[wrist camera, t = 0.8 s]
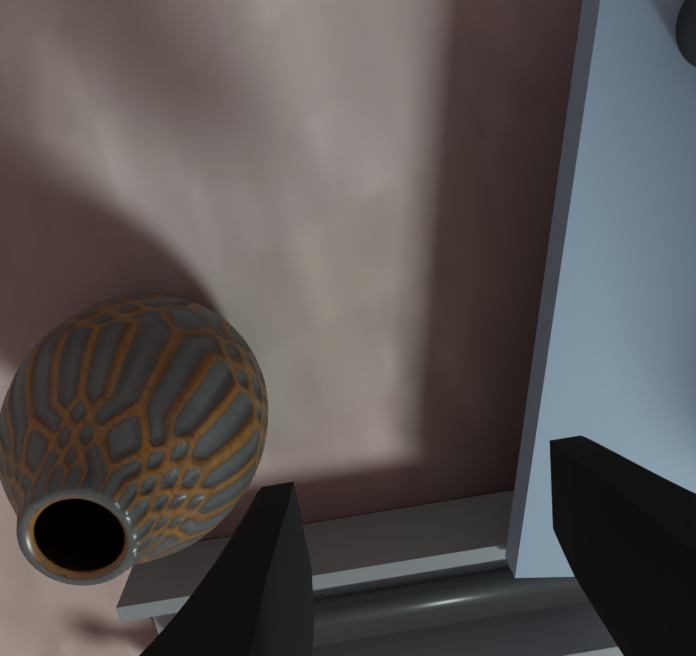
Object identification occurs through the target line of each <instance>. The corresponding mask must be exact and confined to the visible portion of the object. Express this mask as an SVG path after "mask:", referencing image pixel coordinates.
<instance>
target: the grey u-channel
mask: <svg viewBox="0 0 696 656" xmlns="http://www.w3.org/2000/svg"><path fill="white" fill-rule="evenodd" d="M513 496H514V490H511V491H505V492H499V493H492V494H486V495H480V496H474V497H468V498H462V499H455V500H449V501H443V502H437V503H431V504H425V505H419V506H412V507H406V508H400V509H394V510H388V511H382V512H375V513H369V514H363V515H357V516H351V517H345V518H339V519H332V520H326V521H320V522H314V523H308V524H303V529H304V534H305V539H306V544H307V549H308V553H309V558H310V563H311V568H312V585H313V604H314V633H313V650H312V656H623V654H622V652H621V651H620V649H619V648H618V646H617V644H616V643H615V641H614V640H613V638H612V636H611V635H610V633H609V632H608V630H607V628H606V627H605V625H604V624H603V622H602V620H601V619H600V617H599V616H598V614H597V612H596V611H595V609H594V607H593V606H592V604H591V603H590V601H589V599H588V598H587V596H586V594H585V593H584V591H583V590H582V588H581V586H580V585H579V583H578V581H577V580H576V578H575V577H538V578H515V577H514V575H513V573H512V571H511V568H510V566H509V564H508V562H507V560H506V557H505V553H506V546H507V539H508V532H509V525H510V517H511V510H512V503H513ZM231 537H232V536H228V537H222V538H216V539H209V540H203V541H197V542H195V543H193V544H192V545H190V546H188V547H186V548H184V549H182V550H180V551H178V552H176V553H174V554H171V555H169V556H166V557H163V558H160V559H156V560H153V561H149V562H144V563H140V564H135V565H133V567H132V570H131V572H130V575H129V577H128V580H127V582H126V585H125V587H124V590H123V592H122V595H121V597H120V600H119V602H118V605H117V607H116V609H117V612H118V615H119V617H120V620H121V622H123V621H129V620H135V619H141V618H147V617H153V619H154V622H155V625H156V628H157V632H158V635H159V634H160V633H161V632H162V630H163V629H164V628H165V627H166V626H167V625H168V623H169V622H170V621H171V620H172V619H173V617H174V616H175V615H176V614H177V613H178V611H179V610H180V609H181V608H182V606H183V605H184V604H185V603H186V601H187V600H188V599H189V597H190V596H191V595H192V593H193V592H194V590H195V589H196V588H197V586H198V585H199V584H200V582H201V581H202V580H203V578H204V577H205V575H206V574H207V573H208V571H209V570H210V569H211V567H212V566H213V564H214V563H215V561H216V560H217V558H218V557H219V555H220V554H221V552H222V551H223V549H224V548H225V546H226V544H227V543H228V541H229V540H230V538H231Z"/></svg>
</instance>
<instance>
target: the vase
mask: <svg viewBox="0 0 696 656" xmlns="http://www.w3.org/2000/svg"><path fill="white" fill-rule="evenodd" d="M267 426H268V400H267V391H266V385H265V381H264V378H263V375H262V372H261V369H260V367H259V365H258V362H257V360H256V358H255V356H254V354H253V352H252V350H251V349H250V347H249V346H248V344H247V343H246V341H245V340H244V339H243V337H242V336H241V335H240V334H239V333H238V332H237V331H236V329H235V328H234V327H233V326H231V325H230V324H229V323H228V322H227V321H226V320H225V319H223V318H222V317H221V316H219V315H218V314H216V313H215V312H213V311H212V310H210V309H208V308H206V307H204V306H202V305H200V304H198V303H195V302H193V301H190V300H187V299H183V298H180V297H175V296H170V295H161V294H134V295H127V296H122V297H117V298H112V299H109V300H105V301H102V302H100V303H97V304H95V305H92V306H90V307H88V308H86V309H84V310H82V311H80V312H79V313H77V314H75V315H73V316H72V317H70V318H69V319H67V320H66V321H64V322H63V323H61V324H60V325H58V326H57V327H56V328H55V329H53V330H52V331H51V332H50V333H49V334H48V335H46V336H45V337H44V338H43V339H42V340H41V341H40V342H39V343H38V344H37V345H36V346H35V347H34V348H33V350H32V351H31V352H30V353H29V355H28V356H27V358H26V359H25V360H24V362H23V363H22V365H21V366H20V367H19V369H18V371H17V373H16V374H15V376H14V378H13V380H12V382H11V384H10V387H9V389H8V391H7V394H6V396H5V399H4V402H3V405H2V408H1V412H0V480H1V483H2V486H3V488H4V491H5V493H6V495H7V498H8V500H9V502H10V504H11V506H12V507H13V509H14V511H15V513H16V515H17V539H18V543H19V546H20V549H21V551H22V553H23V554H24V556H25V557H26V559H27V560H28V561H29V563H30V564H31V565H32V566H33V567H34V568H36V569H37V570H38V571H39V572H41V573H42V574H44V575H46V576H47V577H49V578H51V579H54V580H56V581H59V582H62V583H66V584H71V585H95V584H100V583H104V582H107V581H109V580H112V579H114V578H116V577H117V576H119V575H121V574H122V573H123V572H125V571H126V570H128V569H129V568H130V567H131V566H133V565H135V564H140V563H144V562H149V561H153V560H156V559H160V558H163V557H166V556H169V555H171V554H174V553H176V552H178V551H180V550H182V549H184V548H186V547H188V546H190V545H192V544H193V543H195V542H197V541H198V540H200V539H201V538H202V537H204V536H205V535H206V534H208V533H209V532H210V531H211V530H213V529H214V528H215V527H216V526H217V525H218V524H219V523H220V522H221V521H222V520H223V519H224V518H225V517H226V516H227V515H228V514H229V513H230V511H231V510H232V509H233V508H234V507H235V505H236V504H237V503H238V501H239V500H240V499H241V497H242V496H243V494H244V492H245V491H246V489H247V488H248V486H249V484H250V483H251V481H252V479H253V477H254V475H255V473H256V470H257V468H258V465H259V463H260V460H261V457H262V454H263V450H264V445H265V440H266V435H267Z"/></svg>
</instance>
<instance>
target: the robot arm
mask: <svg viewBox="0 0 696 656" xmlns="http://www.w3.org/2000/svg"><path fill="white" fill-rule="evenodd" d="M550 466H551V493H552V519H553V530H554V532H555V535H556V537H557V539H558V542H559V544H560V546H561V548H562V551H563V553H564V555H565V557H566V559H567V561H568V563H569V566H570V568H571V570H572V572H573V574H574V576H575V578H576V580H577V581H578V583H579V585H580V586H581V588H582V590H583V591H584V593H585V594H586V596H587V598H588V599H589V601H590V603H591V604H592V606H593V607H594V609H595V611H596V612H597V614H598V616H599V617H600V619H601V620H602V622H603V624H604V625H605V627H606V628H607V630H608V632H609V633H610V635H611V636H612V638H613V640H614V641H615V643H616V644H617V646H618V648H619V649H620V651H621V652H622V654H623V656H696V493H693V492H691V491H689V490H687V489H685V488H683V487H681V486H679V485H677V484H675V483H673V482H671V481H669V480H667V479H665V478H663V477H661V476H659V475H657V474H655V473H653V472H651V471H650V470H648V469H646V468H644V467H642V466H640V465H638V464H636V463H634V462H632V461H630V460H629V459H627V458H625V457H623V456H621V455H619V454H617V453H615V452H614V451H612V450H610V449H608V448H606V447H604V446H602V445H600V444H598V443H596V442H594V441H592V440H590V439H588V438H586V437H584V436H581V435H580V436H574V437H568V438H562V439H556V440H550ZM313 633H314V604H313V585H312V568H311V563H310V558H309V553H308V549H307V544H306V539H305V534H304V529H303V524H302V520H301V515H300V510H299V505H298V500H297V496H296V491H295V486H294V482H290V483H284V484H277V485H271V486H265V487H262V488H261V489H260V490H259V492H258V493H257V495H256V496H255V498H254V500H253V502H252V503H251V505H250V507H249V509H248V510H247V512H246V514H245V515H244V517H243V519H242V521H241V522H240V524H239V525H238V527H237V529H236V530H235V532H234V534H233V535H232V537H231V538H230V540H229V541H228V543H227V544H226V546H225V548H224V549H223V551H222V552H221V554H220V555H219V557H218V558H217V560H216V561H215V563H214V564H213V566H212V567H211V569H210V570H209V571H208V573H207V574H206V575H205V577H204V578H203V580H202V581H201V582H200V584H199V585H198V586H197V588H196V589H195V590H194V592H193V593H192V595H191V596H190V597H189V599H188V600H187V601H186V603H185V604H184V605H183V606H182V608H181V609H180V610H179V611H178V613H177V614H176V615H175V616H174V617H173V619H172V620H171V621H170V622H169V623H168V625H167V626H166V627H165V628H164V629H163V630H162V632H161V633H160V634H159V635H158V636H157V637H156V638H155V639H154V641H153V642H152V643H151V644H150V645H149V646H148V647H147V648H146V649H145V650H144V651H143V652H142V653H141V654H140V655H139V656H312V650H313Z"/></svg>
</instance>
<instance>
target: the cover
mask: <svg viewBox="0 0 696 656" xmlns="http://www.w3.org/2000/svg"><path fill="white" fill-rule="evenodd" d="M580 435H581V436H584V437H586V438H588V439H590V440H592V441H594V442H596V443H598V444H600V445H602V446H604V447H606V448H608V449H610V450H612V451H614V452H615V453H617V454H619V455H621V456H623V457H625V458H627V459H629V460H630V461H632V462H634V463H636V464H638V465H640V466H642V467H644V468H646V469H648V470H650V471H651V472H653V473H655V474H657V475H659V476H661V477H663V478H665V479H667V480H669V481H671V482H673V483H675V484H677V485H679V486H681V487H683V488H685V489H687V490H689V491H691V492H693V493H696V0H582V7H581V15H580V22H579V29H578V36H577V43H576V51H575V58H574V65H573V72H572V79H571V86H570V94H569V101H568V108H567V115H566V122H565V130H564V137H563V144H562V151H561V158H560V166H559V173H558V180H557V187H556V194H555V201H554V209H553V216H552V223H551V230H550V237H549V245H548V252H547V259H546V266H545V273H544V280H543V288H542V295H541V302H540V309H539V316H538V324H537V331H536V338H535V345H534V352H533V359H532V367H531V374H530V381H529V388H528V395H527V403H526V410H525V417H524V424H523V431H522V438H521V446H520V453H519V460H518V467H517V474H516V482H515V489H514V496H513V503H512V510H511V517H510V525H509V532H508V539H507V546H506V553H505V557H506V560H507V562H508V564H509V566H510V568H511V571H512V573H513V575H514V577H515V578H538V577H575V576H574V574H573V572H572V570H571V568H570V566H569V563H568V561H567V559H566V557H565V555H564V553H563V551H562V548H561V546H560V544H559V542H558V539H557V537H556V535H555V532H554V530H553V519H552V493H551V466H550V440H556V439H562V438H568V437H574V436H580Z"/></svg>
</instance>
